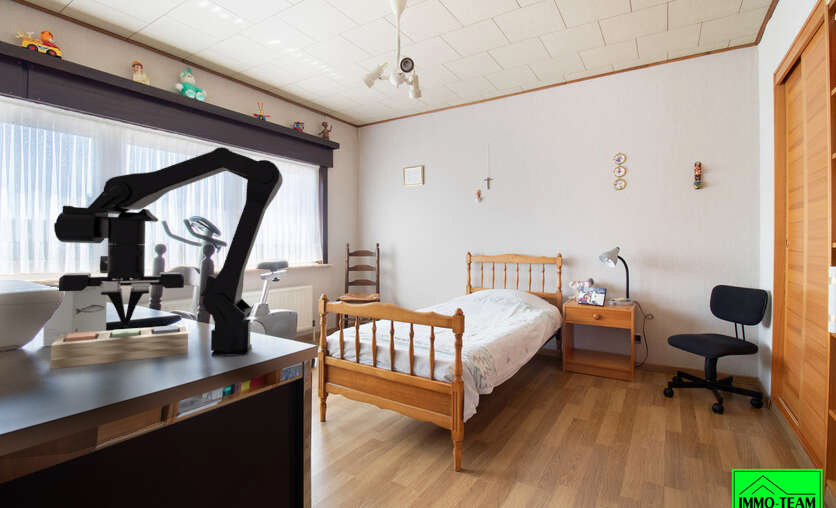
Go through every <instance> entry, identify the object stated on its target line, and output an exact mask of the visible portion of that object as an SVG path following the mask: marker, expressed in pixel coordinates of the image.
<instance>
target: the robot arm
mask: <svg viewBox="0 0 836 508" xmlns="http://www.w3.org/2000/svg"><path fill="white" fill-rule="evenodd" d="M223 172H229V173H232V174H234V175H236V176H238V177H241V178H243V179H244V180H247V182H246V192H245V193H246V194H245V196H246V197H245V203H244V206H243V209H242V211H241V215H240V218H239V221H238V223H237V225H236V229H235V232H234V235H233V237H232V240H231V243H230V246H229V248H228V252H227V254H226V256H225V260H224V262H223V265H222V267H221V269H220V271H219V272H218V273H213V274H209V275H208V276H207V278H206V283H205V288H204V290H203V291H202V293H200V297H203V299H202V306H203V308H204V310H205V311H206V312H207V313H208V314H209V315H211V317H212V319H213V323H214V327H213V329H212V330H211V331H210V333H211V334H210V335H211V336H210V351H212V352H211V356H213V357H214V356H238V355H239V356H241V355H242V356H243V355H248V354H249V352H250V350H251V349H252V347H253V345H252V344H251V327H252V326H251V322H252V321H251V319H248V318H249V317H250V315H251V313H252V310H253V307H252V306H250V304H249V303H247V302H246V301H245V300H244V299H243V298H242V295H243V290H244V278H245V271H246V267H247V266H248V265H247V264H248V262H249V259H250V256H251V253H252V250H253V248H254V245H255V242H256V239H257V236H258V233H259V231H260V228H261V225H262V222H263V220H264V219H263V218H264V217H265V213H266V211H267V209H268V208H269V206H270V205H271V203H272V202H273V200H274V198H275V197H276V195H277V194H278V192H279V190H280V188H281V187H282V184H283V180H284V179H283V174H282V173H281V171H280V170H279V167H278V166H277V165H276V164H275V163H274V162H272V161H270V160H268V159H267V160H266V159H262V160H261V159H259V160H257V159H253V158H251V157H249V156H246V155H243V154H241V153H238V152H234V151H232V150H230V149H228V148H226V147H222V146H221V147H217V148H215V149H214V150H212V151H208V152H205V153H203V154H200V155H198V156H195V157H191V158H189V159H186V160H183V161H181V162H178V163H175V164H171V165H169V166H166V167H164V168H163V167H162V168H160V169H157V170H154V171H150V172H149V171H148V172H136V173H129V174H122V175H117V176H116V175H115V176H113V177H110V178H109V179H107V180H106V181H105V184H104V187H103V191H102V192H101V193H100V194H99V195H98V196H97V197H96V199H94V200H93V201H92V203H91V204H90V205H88V207H80V206H74V205H73V206H72V205H63V206H62V212H60V213H59V215H58V216H57V218H56V221H55V222H54V223H53V229H54V234H55V237H56V238H57V239H58V241H59V242H61V243H68V244H69V243H73V244H101V243H103V242H104V241H105V239H107V255H100V257H99V273H100V274H107V276H92V273H91V272H67V273H65V274H63V275H61V277H59V280H58V283H59V291H82V290H84V289H85V288H86V287H92V286H101V288H102V291H101V295H107V296H108V297H107V298H109V300H110V302H111V303H112V305H113V306H114V307H113V308H115V311H116V313H117V315H118V318H119V321H120V323H121V326H122V327H123V328H124V327H128V326H129V324H130V322H131V319H132V317H133V315H134V312H135V309H136V308H137V305H138V303H139V301H140V300H141V298H142V297H143V295H144V294H149V293H150V287H151V286H162V287H163V288H164V289H183V288H184V287H185V277H184V275H183V274H182V273H181V272H179V271H161V272H159V275H145V274H146V273H145V270H146V269H145V267H146V266H145V265H146V261H145V259H146V257H145V256H146V222H147V223H148V222H150V223H151V222H152V223H157V222H158V221H159V218H158V217H156V216H154V215H153V214H152V213H151V210H150V209H148V208H147V209H146V207H148V206H149V205H151V204H153V203H155V202H156V201H158V200H159V199H160V198H162V197H163V196H164V195H166V194H167V193H169V192H171V191H174V190H176V189H180V188H182V187H184V186H187V185H191V184H193V183H196V182H198V181H202V180H204V179H207V178H210V177H212V176H216V175H217V174H220V173H223ZM131 210H133V211H134V212H131ZM138 210H140V211H138ZM129 211H130V212H129ZM135 211H136V212H135ZM137 211H138V212H137ZM110 214H111V215H118V216H109V215H110ZM123 286H125V287H127V286H131V287H130V291H129V298H128V303H127V307H126V310H125V305H124V296H123V289H122V287H123ZM125 311H126V312H125Z"/></svg>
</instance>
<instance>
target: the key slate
mask: <svg viewBox="0 0 836 508" xmlns="http://www.w3.org/2000/svg"><path fill="white" fill-rule="evenodd" d="M152 327H153V334H161V333H173V332H178V327H177V325H164V326H152Z"/></svg>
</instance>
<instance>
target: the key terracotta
mask: <svg viewBox="0 0 836 508" xmlns="http://www.w3.org/2000/svg"><path fill="white" fill-rule="evenodd" d="M90 339H97V331H93V332H80V333H69V334H68V335H67V337H66V341H78V340H90Z"/></svg>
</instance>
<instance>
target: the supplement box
mask: <svg viewBox="0 0 836 508" xmlns="http://www.w3.org/2000/svg"><path fill="white" fill-rule="evenodd" d="M45 285H46V286H50V287H57V288H59V282H58V283H55V282H54V283H46V284H44V286H45ZM101 291H102V288H101V286H92V287H86V288H85V289H84V290H82V291H65V296H64V299H63V301H62V303H61V305H60V307H59V308H58V309H57V310H56V311H55V313H54V314H53V315H52V317H51V319H49V320H48V321H47V323H46V324H45V326H44V325H43V338H42V341H43V343H42V345H43V346H45V347H51V345H52V344H53V343H54V341H55V340H56V339H57V337H58V336H59V335H60V334H69V333H80V332H93V331H97V332H98V331H107V303H108V301H107V300H108V297H107V296H108V295H101Z"/></svg>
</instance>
